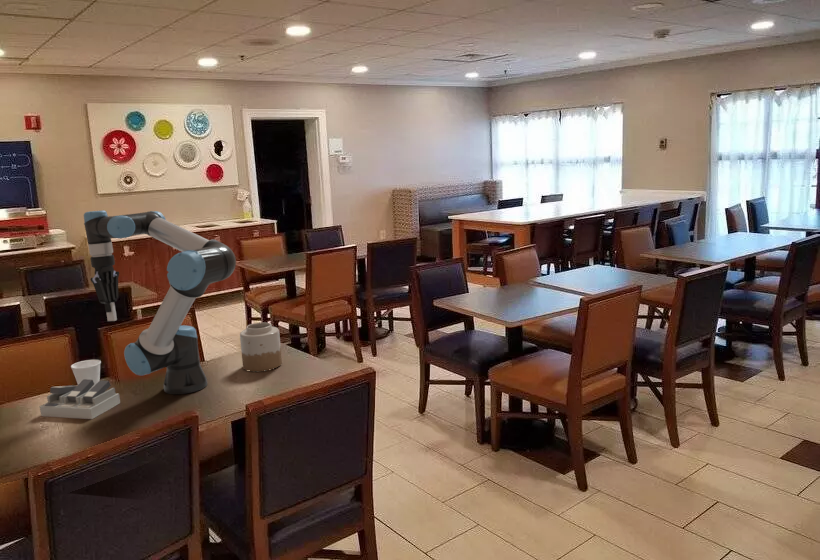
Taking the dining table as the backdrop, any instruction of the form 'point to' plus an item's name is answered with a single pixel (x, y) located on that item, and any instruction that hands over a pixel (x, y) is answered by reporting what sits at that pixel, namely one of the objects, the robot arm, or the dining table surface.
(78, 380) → the cup
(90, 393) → the rocker
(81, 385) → the rocker
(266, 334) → the vase
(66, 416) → the switch unit
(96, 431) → the dining table surface
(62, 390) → the rocker
